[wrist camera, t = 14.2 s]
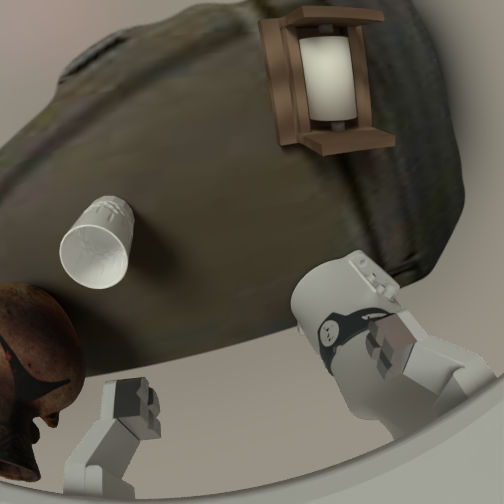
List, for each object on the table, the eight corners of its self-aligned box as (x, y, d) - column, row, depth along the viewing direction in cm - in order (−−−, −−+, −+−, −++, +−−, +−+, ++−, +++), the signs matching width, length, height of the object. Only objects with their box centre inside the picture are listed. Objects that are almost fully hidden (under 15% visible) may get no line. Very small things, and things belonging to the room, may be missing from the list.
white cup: (88, 184, 34) (62, 217, 26) (145, 198, 37) (134, 234, 29) (80, 237, 38) (58, 279, 29) (133, 250, 40) (122, 295, 32)
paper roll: (348, 113, 34) (363, 120, 30) (306, 116, 35) (315, 123, 30) (339, 39, 29) (354, 35, 24) (295, 41, 29) (303, 36, 25)
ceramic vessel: (-19, 281, 37) (-89, 422, 11) (34, 234, 36) (-64, 412, 10) (55, 358, 48) (29, 498, 23) (116, 330, 47) (102, 503, 22)
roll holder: (366, 130, 38) (408, 146, 30) (277, 143, 37) (304, 162, 29) (354, 20, 29) (397, 10, 21) (257, 21, 28) (280, 3, 20)
